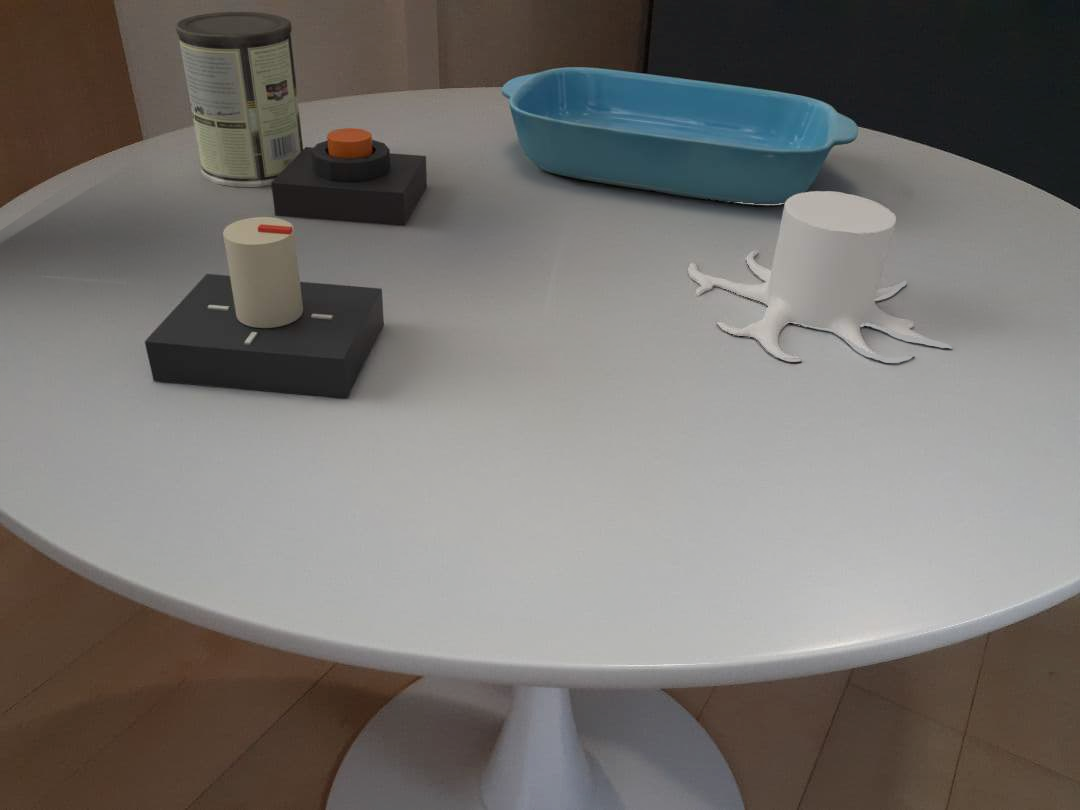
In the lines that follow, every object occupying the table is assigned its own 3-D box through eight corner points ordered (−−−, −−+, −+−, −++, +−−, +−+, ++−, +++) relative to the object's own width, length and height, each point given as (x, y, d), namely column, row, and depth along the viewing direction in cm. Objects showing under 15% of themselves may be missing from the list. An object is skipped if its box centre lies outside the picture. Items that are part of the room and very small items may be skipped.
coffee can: (226, 149, 98) (205, 7, 90) (320, 158, 97) (307, 15, 89) (181, 183, 90) (153, 30, 82) (283, 193, 88) (265, 39, 81)
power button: (323, 159, 83) (321, 140, 82) (335, 145, 87) (334, 126, 86) (366, 162, 83) (365, 143, 82) (377, 148, 87) (376, 129, 86)
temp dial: (226, 325, 61) (211, 236, 57) (250, 295, 65) (237, 210, 61) (291, 331, 61) (280, 242, 57) (311, 300, 64) (302, 215, 61)
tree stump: (919, 268, 80) (946, 178, 76) (966, 385, 64) (1004, 280, 60) (690, 243, 83) (702, 154, 78) (680, 349, 67) (695, 246, 62)
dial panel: (153, 380, 61) (143, 339, 59) (213, 309, 69) (206, 271, 67) (347, 398, 60) (343, 356, 58) (384, 324, 68) (381, 286, 66)
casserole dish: (844, 158, 104) (859, 93, 100) (842, 232, 86) (860, 157, 82) (532, 118, 112) (535, 56, 108) (471, 178, 94) (471, 107, 90)
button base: (274, 216, 84) (268, 162, 81) (308, 178, 92) (303, 128, 89) (404, 226, 83) (402, 173, 80) (427, 187, 91) (425, 137, 89)
